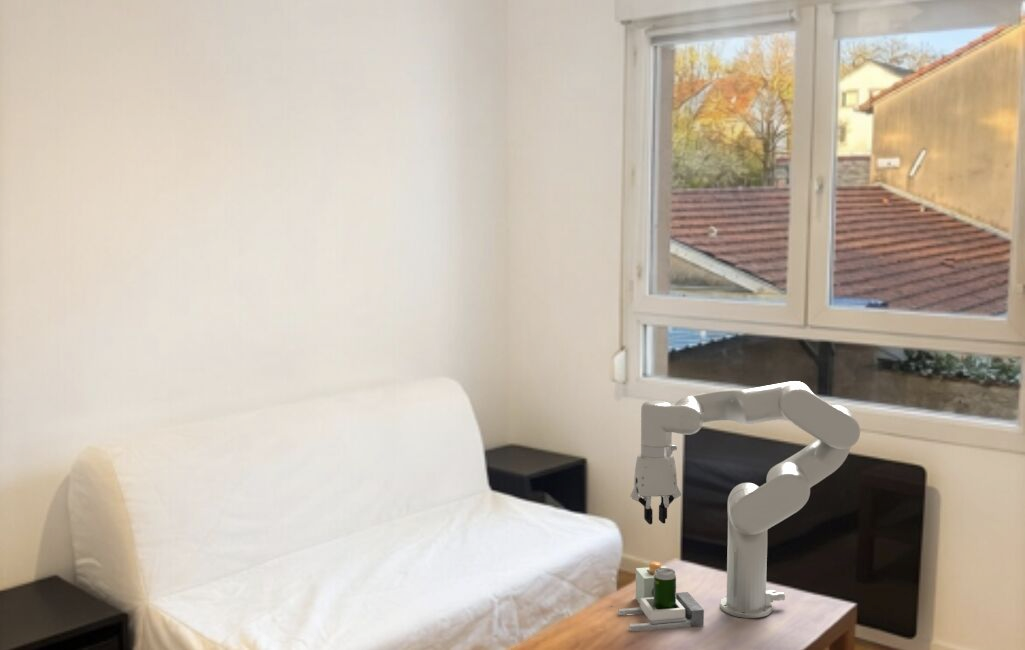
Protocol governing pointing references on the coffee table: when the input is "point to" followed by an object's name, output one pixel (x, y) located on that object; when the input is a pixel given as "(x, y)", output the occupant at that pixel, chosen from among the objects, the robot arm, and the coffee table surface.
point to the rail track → (692, 614)
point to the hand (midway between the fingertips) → (655, 521)
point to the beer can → (664, 589)
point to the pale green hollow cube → (644, 583)
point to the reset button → (654, 567)
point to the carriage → (662, 612)
